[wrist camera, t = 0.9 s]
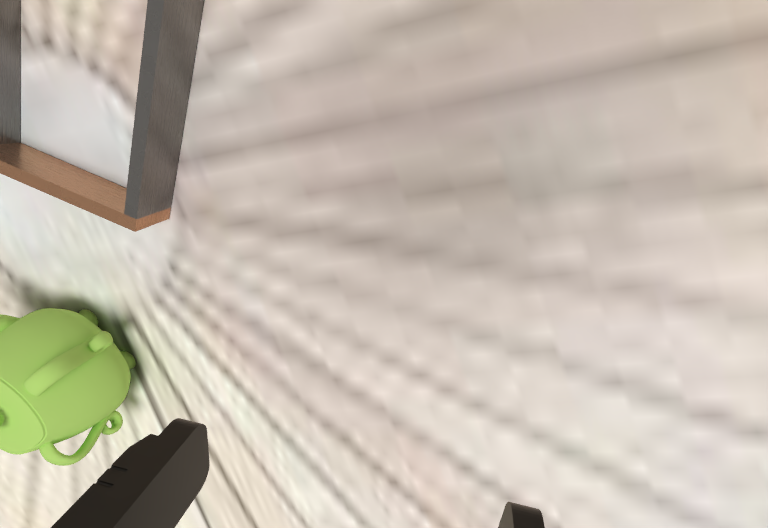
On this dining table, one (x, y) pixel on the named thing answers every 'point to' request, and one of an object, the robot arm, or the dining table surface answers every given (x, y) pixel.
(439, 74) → the dining table surface
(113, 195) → the bay
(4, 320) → the teapot
